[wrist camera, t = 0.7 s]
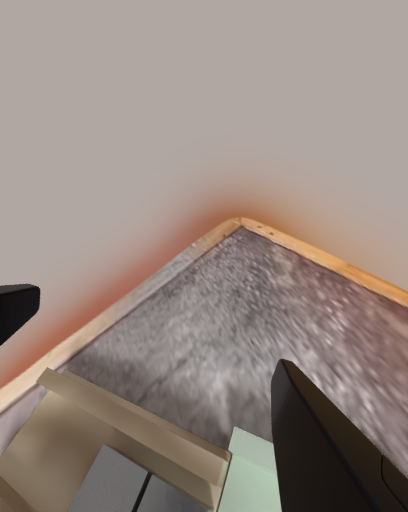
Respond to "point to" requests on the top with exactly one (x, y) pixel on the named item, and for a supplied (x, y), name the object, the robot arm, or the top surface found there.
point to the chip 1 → (112, 483)
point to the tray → (250, 476)
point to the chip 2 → (169, 498)
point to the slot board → (99, 447)
